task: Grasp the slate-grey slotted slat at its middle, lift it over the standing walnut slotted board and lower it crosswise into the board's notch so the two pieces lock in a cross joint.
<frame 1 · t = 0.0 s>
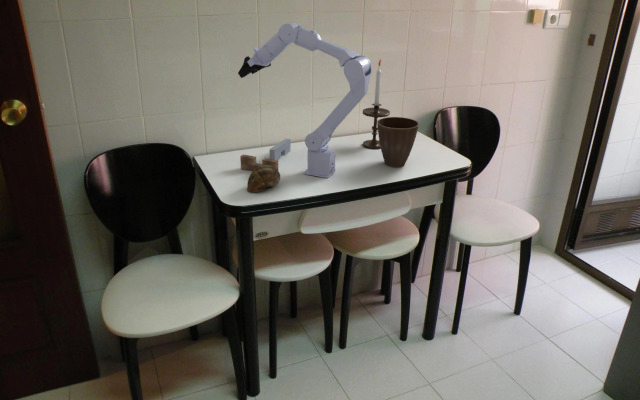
hand: (245, 73, 178), 32 cm above the table, tool tilted 50°, fingers open, 7 cm apart
walnut slotted board: (259, 171, 182), on the table
grey slotted slat: (280, 156, 196), on the table
candlestick: (373, 145, 211), on the table
seashell: (263, 188, 169), on the table
plant pot: (394, 164, 192), on the table
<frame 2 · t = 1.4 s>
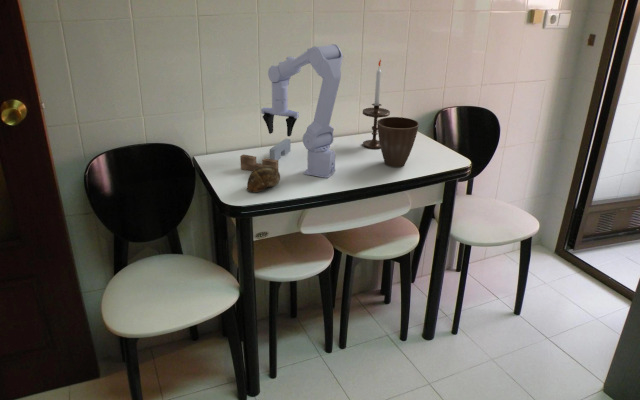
hand: (280, 134, 193), 9 cm above the table, tool pointing down, fingers open, 7 cm apart
nothing on the table moved.
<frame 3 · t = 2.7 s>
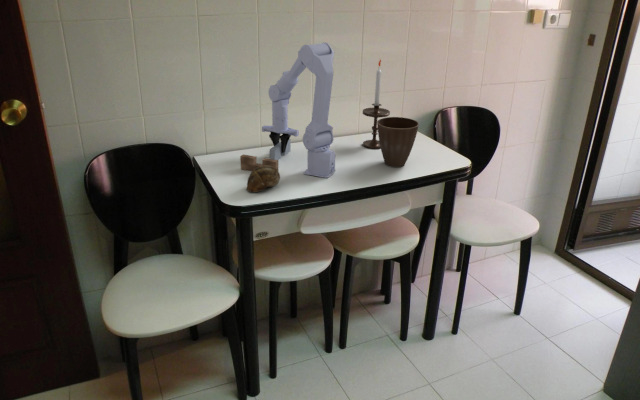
hand: (280, 151, 196), 2 cm above the table, tool pointing down, fingers closed on grey slotted slat, 2 cm apart
grey slotted slat: (280, 156, 196), on the table, touching gripper
everything else where it was.
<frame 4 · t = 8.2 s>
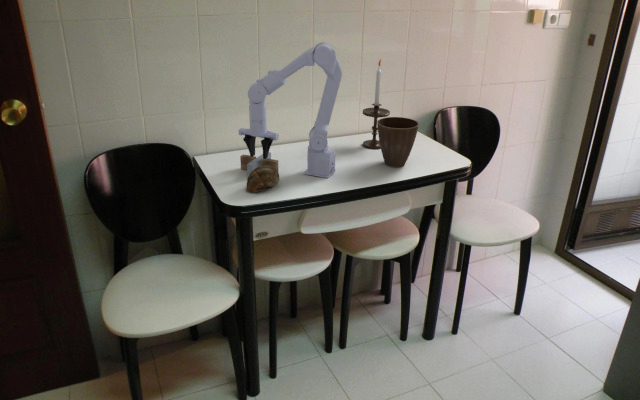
hand: (259, 156, 180), 6 cm above the table, tool pointing down, fingers open, 4 cm apart
grey slotted slat: (259, 171, 182), on the table, touching walnut slotted board
everything else where it was.
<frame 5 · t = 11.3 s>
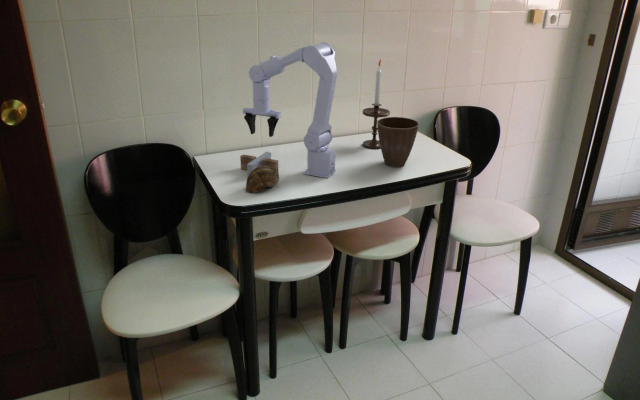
hand: (262, 134, 190), 9 cm above the table, tool pointing down, fingers open, 7 cm apart
nothing on the table moved.
at the end: grey slotted slat 0.0 cm off-centre on the walnut slotted board, point 0.0 cm above the walnut slotted board's base; grey slotted slat tilted 0°; the gripper is holding nothing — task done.
